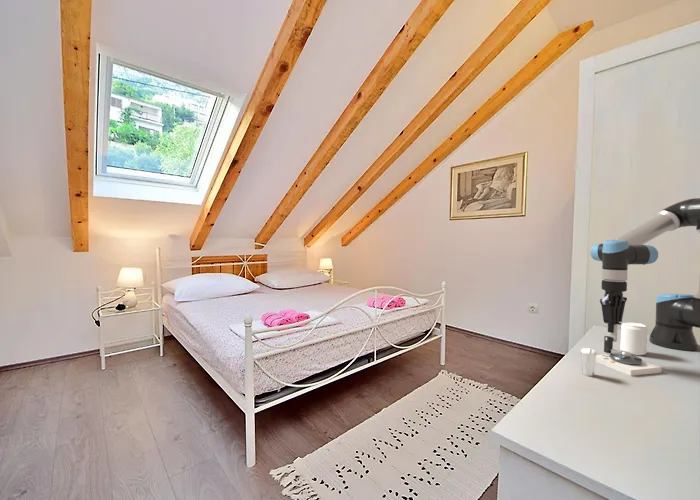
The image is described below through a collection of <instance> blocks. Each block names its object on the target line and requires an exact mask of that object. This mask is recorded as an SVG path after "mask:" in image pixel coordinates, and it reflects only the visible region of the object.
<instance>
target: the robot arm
mask: <svg viewBox="0 0 700 500" xmlns="http://www.w3.org/2000/svg"><path fill="white" fill-rule="evenodd" d="M685 227H695V228H696V230H695V231H696V232H698V233H700V197H698V198H696V197H695V198H689V199H688V198H687V199H685V200H682V201H679V202H676V203H674V204H672V205H669V206H667V207H665V208H663V209H661V210H659V211H658V212H656V213H655V214H654V216H653V217H652V218H650V219H648V220H646V221H644V222H643V223H641V224H639V225H637V226H636V227H634V228H633V227H632V228H631V229H630V230H628V231H626V232H623V233H622V234H619V236H617V237H614V238H613V239H610V240H609V239H608V240H605V241H603V243H596V244H593V245H592V247H591V248H590V251H589V254H590V257H591V258H592V260H594V261H599V262H602V266H601V267H602V270H601V279H602V280H601V286H600V287H601V289H602V291H604V295H603V296H604V297H603V298H600V299H599V303H600V304H601V312H602V319H603V323H605V324H607V334H606V336H610V337H613V343H614V342H618V325H619V326H620V325H622V321H623V316H624V313H625V306H626V302H627V300H628V298H627V297H626V296H624V292H627V290H628V282H627V281H628V270H629V269H628V267H629V265H643V266H644V265H645V266H646V265H650V264H653V263H655V262H657V260H658V258H659V251H658V249H657V248H656V247H655V246H653V245H650V244H646V243H649V241H651V240H653V239H655V238H657V237H659V236H661V235H663V234H664V233H666V232H672V231H676V230H677V229H679V228H685ZM698 278H699V279H698V280H699V281H698V292H697V293H695V294H690V293H687V294H686V293H685V294H684V293H660V294H658V295H657V296H656V302H655V303H656V304H655V325H654V327H653V329H652V331H651V332H650V335H649V338H648V339H649V342H650V343H652V344H654V345H656V346H660V347H663V348H668V349H673V350H679V351H689V352H690V351H697V350H698V345H699V344H698V342H697V339H696V336H695V334H694V331H693V327H694V328H698V329H700V276H699V277H698Z"/></svg>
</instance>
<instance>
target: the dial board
mask: <svg viewBox="0 0 700 500" xmlns="http://www.w3.org/2000/svg"><path fill="white" fill-rule="evenodd" d="M596 363H597V364H600V365H603V366H605V367H608V368H610V369H613V370H615V371H617V372H620V373H622V374H624V375H627V376H629V377H633V376H634V377H636V376H642V375H653V374H660V373H662V372H663V371H662V370H663V366H661V365H658V364H654V363H652V362H648V361H646V360H643V359H642V364H641V365H630V364H624V363H620V362H617V361H615V360H612V359H611V358H610V353H605V354H604V353H603V354H597V358H596Z"/></svg>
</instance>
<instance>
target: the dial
mask: <svg viewBox="0 0 700 500" xmlns="http://www.w3.org/2000/svg"><path fill="white" fill-rule="evenodd" d="M603 337H604V338H603V339H604V340H603V352H604V353H605V354H607V353H608V354H610V358H611V359H612V360H615V361H617V362H620V363H624V364H630V365H641V364H642V360H643V359H642V358H640V357H638V356H637V355H632V354H631V353H630V352H627V351H622V350H620V349H619V350H618V349H615V348H614V345H613V344H614V341H613V337H610V336H607V335H604V336H603Z"/></svg>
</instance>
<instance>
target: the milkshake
mask: <svg viewBox="0 0 700 500" xmlns="http://www.w3.org/2000/svg"><path fill="white" fill-rule="evenodd" d="M597 355H598V352H597V351H596V350H595V349H593V348H588V347H587V348H586V347H583V348H581V349H580V357H581V373H582V375H584V376H586V377H595V369H596V363H597V362H596V358H597Z"/></svg>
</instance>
